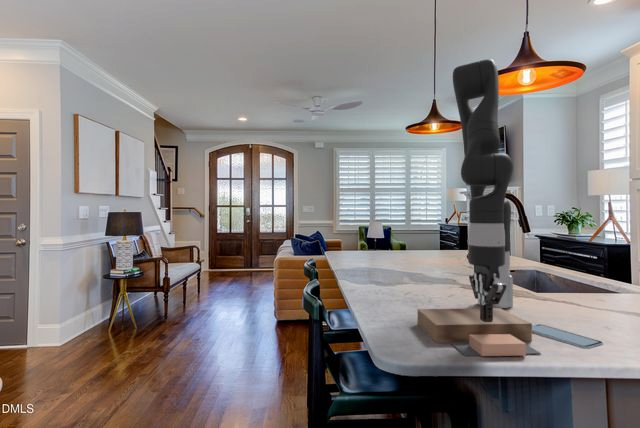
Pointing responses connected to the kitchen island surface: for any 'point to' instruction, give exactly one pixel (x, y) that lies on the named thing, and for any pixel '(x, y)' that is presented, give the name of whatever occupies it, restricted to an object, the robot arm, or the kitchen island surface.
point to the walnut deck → (470, 324)
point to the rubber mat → (469, 351)
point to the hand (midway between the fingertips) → (486, 321)
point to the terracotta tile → (497, 345)
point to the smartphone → (565, 336)
